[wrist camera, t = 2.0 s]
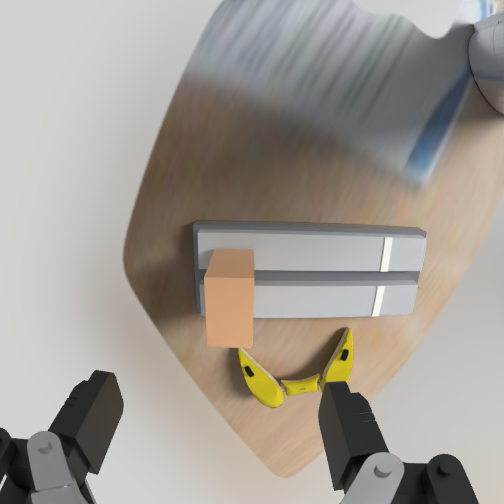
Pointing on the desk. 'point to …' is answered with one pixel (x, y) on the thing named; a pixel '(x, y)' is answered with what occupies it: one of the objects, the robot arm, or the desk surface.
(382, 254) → the fader track
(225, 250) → the cap
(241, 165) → the desk surface
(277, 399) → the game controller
